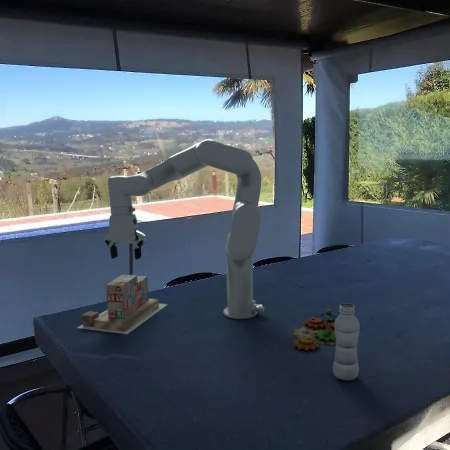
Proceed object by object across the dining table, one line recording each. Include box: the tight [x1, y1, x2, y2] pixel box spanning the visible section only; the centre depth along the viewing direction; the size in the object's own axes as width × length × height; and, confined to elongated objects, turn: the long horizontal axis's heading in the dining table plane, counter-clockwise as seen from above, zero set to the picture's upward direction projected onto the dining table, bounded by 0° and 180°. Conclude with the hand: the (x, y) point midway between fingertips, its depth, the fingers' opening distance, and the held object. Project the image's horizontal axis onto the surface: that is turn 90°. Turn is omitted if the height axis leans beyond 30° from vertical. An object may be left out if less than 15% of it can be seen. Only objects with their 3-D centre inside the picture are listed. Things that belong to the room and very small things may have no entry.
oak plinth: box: [94, 298, 160, 332], centre depth 166 cm, size 12×25×3 cm, turn 161°
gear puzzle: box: [291, 308, 338, 351], centre depth 149 cm, size 31×16×4 cm, turn 143°
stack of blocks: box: [105, 274, 150, 319], centre depth 166 cm, size 21×6×12 cm, turn 167°
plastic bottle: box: [332, 302, 361, 381], centre depth 119 cm, size 6×7×20 cm
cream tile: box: [76, 303, 168, 335], centre depth 168 cm, size 20×30×1 cm, turn 161°
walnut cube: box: [81, 310, 100, 327], centre depth 160 cm, size 4×4×4 cm
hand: (126, 258), depth 163 cm, fingers open, 9 cm apart
